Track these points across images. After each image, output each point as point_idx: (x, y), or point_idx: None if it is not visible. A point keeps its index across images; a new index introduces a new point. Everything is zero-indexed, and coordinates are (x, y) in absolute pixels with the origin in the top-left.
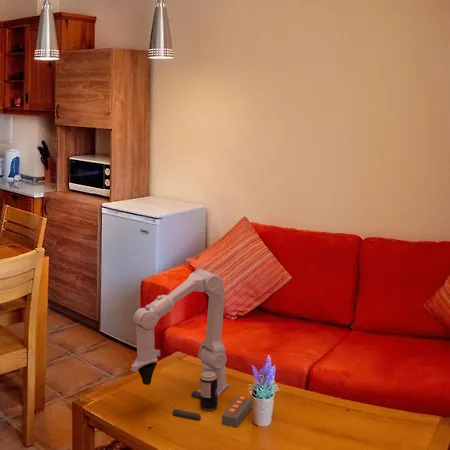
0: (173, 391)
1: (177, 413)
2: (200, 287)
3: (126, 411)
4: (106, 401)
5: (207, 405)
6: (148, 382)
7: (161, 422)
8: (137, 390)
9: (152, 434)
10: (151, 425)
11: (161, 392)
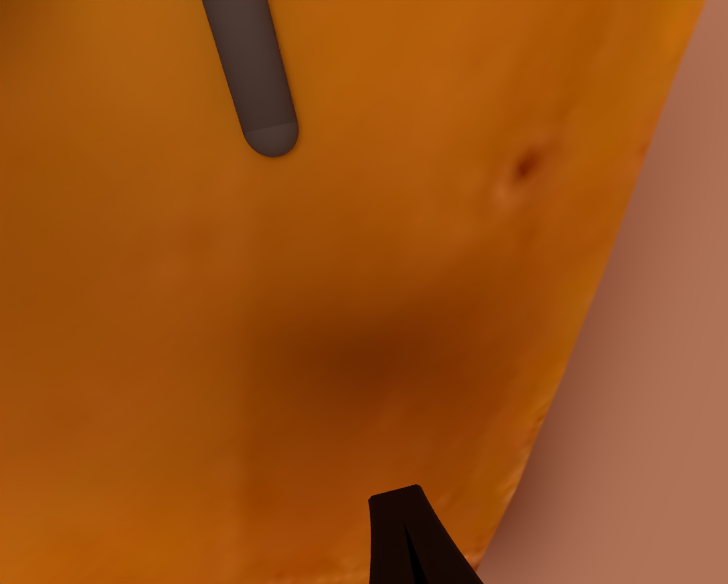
0: (8, 394)
1: (287, 85)
2: None
3: (431, 411)
4: None
5: None
6: (435, 514)
7: (434, 142)
8: (203, 535)
9: (601, 81)
10: (501, 176)
11: (99, 438)
